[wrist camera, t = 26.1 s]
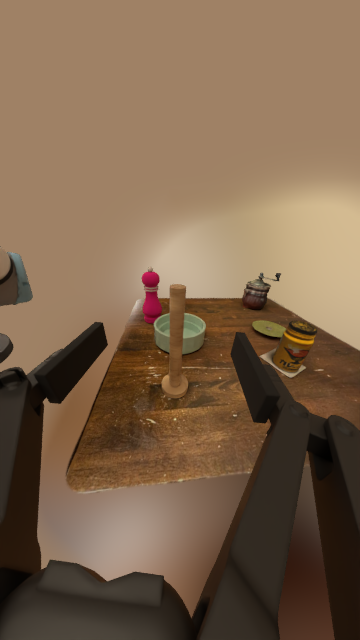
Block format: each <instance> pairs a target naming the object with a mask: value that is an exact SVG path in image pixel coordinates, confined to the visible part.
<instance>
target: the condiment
mask: <svg viewBox="0 0 360 640" xmlns="http://www.w3.org/2000/svg"><path fill="white" fill-rule="evenodd" d="M316 333H317V329H316V328H315V327H314V326H313V325H311V324H308V323H306V322H302V321H292V322H290V323H289V326H288V327H287V329H286V330H285V331H284V332H283V335H282V337H281V339H280V342H279V344H278V346H277V349H273V350H272V351H270V352H268V353H266V354H263V355H261V356H259V357H261V358H262V359H264V360H265V361H267V362H268V363H270V364H271V365H272V366H274V367H275V368H276V369H278V370H279V371H281V372H282V373H284V374H285V375H286V376H288V377H290V378H292V377H293V376H295V375H296V374H298V373H299V372H301V371H302V370H304V369H305V368H306V367H304V366H303V365H302V363H303V361H304V360H305V358H306V356H307V354H308V352H309V350H310V348H311V347H312V345H313V343H314V337H315V334H316Z"/></svg>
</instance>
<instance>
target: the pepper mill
mask: <svg viewBox="0 0 360 640" xmlns="http://www.w3.org/2000/svg"><path fill="white" fill-rule="evenodd" d="M152 271H153V268H152V267H148V272H146V273H144V274H143V276H142V282H143V284H144V285H145V286H144V290H145V291H146V299H145V302H144V305H143V313H144V314H145V321H146V322H147V323H154V322H155V320H156V319H157V318H159V317H160V316H161V315H160V313H161V312H162V307H161V304H160V302H159V300H158V297H157V290H158V286H157V285H158V283H159V276H158V274H157V273H155V272H152Z"/></svg>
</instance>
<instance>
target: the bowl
mask: <svg viewBox="0 0 360 640" xmlns="http://www.w3.org/2000/svg"><path fill="white" fill-rule="evenodd" d="M205 329H206V325H205V322H204V321H203V320H202V319H201V318H199V317H197V316H195V315H191V314H187V313H184V331H183V349H182V354H188V353H191V352H194V351H196V350H198V349H199V348H200V347H201V346H202V345H203V342H204V337H205ZM154 340H155V342H156V345H157V346H158V347H159V348H161V349H162V350H164V351H166V352H169V349H170V313H169V314H165V315H162V316H160V317H159V318H157V319H156V320H155V322H154Z"/></svg>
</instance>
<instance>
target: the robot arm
mask: <svg viewBox="0 0 360 640" xmlns="http://www.w3.org/2000/svg"><path fill="white" fill-rule="evenodd" d="M32 297H33V295H32V291H31V288H30V285H29V281H28V278H27V275H26V271H25V268H24V265H23V262H22V259H21V256H20V255H19V254H16V253H11V252H7V253H6V252H5V250H4V249H2V248H1V247H0V306H3V305H10V304H13V305H16V304H18V303H23V302H27V301H30V300H31V299H32ZM107 345H108V344H107V339H106V335H105V331H104V326H103V323H101V322H95V323H94V324H92V325H91V326H90V327H89V328H88V329H87V330H85V331H84V332H83V333H82V334H81V335H79V336H78V337H77V338H76V339H75V340H73V341H72V342H71V343H70V344H69V345H67V346H66V347H65V348H64V349H60V350H58V351H56V352H54V353H53V354H52V355H51V356H49V358H47V359H46V360H44V362H42V363H41V364H40V365H38V366H37V367H36V368H35V369H34V370H32V371H31V372H30V373H29V374H28V375H25V373H24V371H23V370H22V368H20V367H14V368H9V369H7V370H4V371H2V372H0V640H279V639H280V637H279V629H278V609H279V603H280V597H281V592H282V586H283V580H284V575H285V569H286V563H287V558H288V552H289V546H290V541H291V535H292V529H293V524H294V518H295V512H296V507H297V501H298V495H299V489H300V484H301V478H302V473H303V467H304V461H305V456H306V451H308V454H309V461H310V468H311V475H312V482H313V489H314V496H315V503H316V510H317V517H318V524H319V531H320V538H321V545H322V552H323V559H324V566H325V573H326V580H327V588H328V595H329V602H330V609H331V616H332V622H333V629H334V637H335V640H360V431H359V430H358V429H357V428H356V427H355V426H354V425H353V424H352V423H351V422H349V421H348V420H346V419H344V418H342V417H340V416H337V415H331V416H330V417H328V419H325V418H322V417H320V416H317V415H314V414H312V413H310V412H309V411H308V410H307V409H306V408H305V407H304V406H303V405H302V404H300V403H298V402H296V401H295V400H294V399H293V397H292V396H291V394H290V393H289V391H288V390H287V388H286V386H285V385H284V383H283V382H282V380H281V379H280V377H279V376H278V374H277V372H276V371H275V370H274V369H273V368H272V367H271V366H270V365H264V364H262V363H261V361H260V359H259V357H258V356H257V354H256V352H255V350H254V349H253V347H252V345H251V343H250V342H249V340H248V338H247V336H246V335H245V333H241V332H236V335H235V339H234V343H233V347H232V351H231V357H232V360H233V363H234V366H235V369H236V372H237V375H238V378H239V381H240V384H241V387H242V389H243V392H244V395H245V398H246V401H247V404H248V407H249V410H250V413H251V416H252V419H253V422H256V423H266V422H267V420H268V418H269V420H270V423H271V426H270V428H269V430H268V431H267V433H266V434H267V436H266V438H265V441H264V443H263V446H262V448H261V451H260V453H259V456H258V458H257V461H256V463H255V466H254V468H253V471H252V473H251V476H250V478H249V481H248V483H247V486H246V488H245V491H244V493H243V496H242V498H241V501H240V503H239V506H238V508H237V511H236V513H235V516H234V518H233V521H232V523H231V525H230V528H229V530H228V533H227V536H226V538H225V540H224V543H223V546H222V548H221V550H220V553H219V555H218V558H217V560H216V562H215V565H214V567H213V569H212V571H211V573H210V575H209V577H208V579H207V582H206V584H205V587H204V589H203V591H202V594H201V596H200V599H199V602H198V604H197V606H196V609H195V611H194V614H193V616H192V618H191V617H190V614H189V612H188V610H187V608H186V606H185V604H184V602H183V600H182V599H181V597H180V596H179V594H178V593H177V592H176V590H175V589H174V588H173V587H172V586H171V585H170V584H169V583H167V582H166V581H165V580H164V576H161V575H154V574H148V573H140V572H133V573H130V574H127V575H124V576H122V577H119V578H116V579H113V580H111V581H108V582H107V581H106V580H105V579H103V578H102V577H101V576H100V575H99V574H97V573H96V572H95V571H93V570H91V569H88V568H86V567H84V566H81V565H79V564H77V563H70V562H62V561H56V560H50V561H49V563H48V565H47V567H46V568H44V569H42V570H41V552H40V546H39V543H38V539H37V522H38V505H39V486H40V468H41V450H42V431H43V413H44V404H43V401H44V399H45V398H46V397H47V399H48V401H49V402H50V403H58V404H60V403H61V402H62V401H63V400H64V399H65V397H66V396H67V395H68V393H69V392H70V391H71V390H72V389H73V388H74V386H75V385H76V384H77V383H78V381H79V380H80V379H81V378H82V376H83V375H84V374H85V372H86V371H87V370H88V369H89V368H90V366H91V365H92V364H93V363H94V361H95V360H96V359H97V358H98V356H99V355H100V354H101V353H102V352H103V350H104V349H105V348H106V347H107Z"/></svg>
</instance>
